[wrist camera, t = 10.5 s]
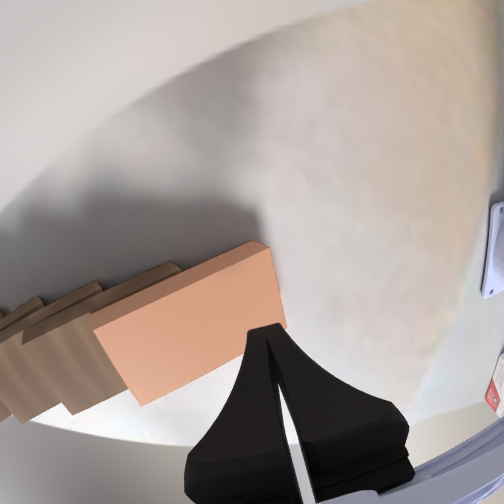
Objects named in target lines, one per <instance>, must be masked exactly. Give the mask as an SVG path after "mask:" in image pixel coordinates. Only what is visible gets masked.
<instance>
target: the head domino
mask: <svg viewBox="0 0 504 504" xmlns="http://www.w3.org/2000/svg"><path fill="white" fill-rule="evenodd" d="M91 321H92V327H93V331H94V333H95V335H96V336H97V338H98V340H99V342H100V343H101V345H102V347H103V348H104V350H105V352H106V353H107V355H108V357H109V358H110V360H111V362H112V363H113V365H114V366H115V368H116V370H117V371H118V373H119V374H120V376H121V377H122V379H123V381H124V382H125V384H126V385H127V387H128V388H129V390H130V391H131V392H132V394H133V395H134V397H135V398H136V400H137V401H138V403H139V404H140V405H141V406H143V405H145V404H147V403H149V402H151V401H154V400H156V399H158V398H160V397H162V396H164V395H166V394H168V393H170V392H172V391H174V390H176V389H178V388H180V387H182V386H184V385H186V384H188V383H190V382H192V381H193V380H195V379H197V378H199V377H201V376H203V375H205V374H207V373H209V372H211V371H212V370H214V369H216V368H218V367H220V366H222V365H224V364H225V363H227V362H229V361H231V360H233V359H234V358H236V357H238V356H240V355H242V354H243V353H244V351H245V346H246V339H247V332H248V330H250V329H255V328H259V327H263V326H267V325H270V324H274V323H280V324H281V325H282V326H283V328H284V329H286V328H287V325H286V320H285V315H284V311H283V306H282V301H281V297H280V292H279V288H278V283H277V278H276V274H275V269H274V265H273V260H272V256H271V251H270V247H267V246H265V245H263V244H260V243H258V242H256V241H253V240H252V241H250V242H248V243H245V244H243V245H241V246H239V247H236V248H234V249H232V250H230V251H228V252H225V253H223V254H221V255H219V256H216V257H214V258H212V259H210V260H208V261H205V262H203V263H201V264H199V265H197V266H194V267H192V268H190V269H188V270H186V271H183V272H181V273H179V274H177V275H175V276H172V277H170V278H168V279H166V280H164V281H162V282H159V283H157V284H155V285H153V286H151V287H148V288H146V289H144V290H142V291H140V292H138V293H135V294H133V295H131V296H129V297H127V298H125V299H122V300H120V301H118V302H116V303H114V304H112V305H109V306H107V307H105V308H103V309H101V310H99V311H96V312H94V313H92V314H91Z"/></svg>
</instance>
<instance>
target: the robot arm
mask: <svg viewBox="0 0 504 504" xmlns="http://www.w3.org/2000/svg"><path fill="white" fill-rule="evenodd" d="M502 290H504V201H502V202H499V203H495V204H493V206H492V208H491V215H490V230H489V241H488V251H487V260H486V267H485V274H484V281H483V287H482V293H481V296H482V297H483V298H484V299H487V298H489V297H491V296H493V295H495V294H497V293H499V292H501V291H502ZM278 384H279V387H280V389H281V392H282V394H283V397H284V400H285V402H286V405H287V407H288V410H289V413H290V415H291V418H292V420H293V423H294V426H295V429H296V432H297V436H298V440H299V443H300V447H301V451H302V454H303V458H304V461H305V465H306V469H307V473H308V477H309V480H310V484H311V488H312V491H313V495H314V499H315V503H316V504H479V503H480V502H481V501H483V500H484V499H486V498H487V497H488V496H490V495H491V494H493V493H494V492H495V491H497V490H498V489H499V488H501V487H502V486H503V485H504V416H503V417H501V418H500V419H499V420H497V421H495V422H494V423H492V424H491V425H490V426H488V427H487V428H485V429H483V430H482V431H480V432H479V433H477V434H476V435H474V436H473V437H471V438H469V439H468V440H466V441H464V442H462V443H461V444H459V445H457V446H456V447H454V448H452V449H450V450H448V451H447V452H445V453H443V454H441V455H439V456H437V457H435V458H433V459H431V460H430V461H427V462H426V463H423V464H421V465H419V466H417V467H415V468H413V467H412V465H411V463H410V461H409V459H408V456H409V454H408V451H407V449H406V447H405V443H406V440H407V436H408V433H409V425H408V423H407V421H406V419H405V418H404V416H403V415H402V414H401V412H400V411H399V410H398V409H397V408H396V407H395V405H394V404H393V403H392V402H390V401H386V400H383V399H380V398H377V397H374V396H372V395H369V394H367V393H365V392H362V391H360V390H358V389H356V388H354V387H352V386H350V385H349V384H347V383H345V382H343V381H341V380H340V379H338V378H336V377H335V376H333V375H332V374H330V373H329V372H327V371H326V370H325V369H323V368H322V367H321V366H319V365H318V364H317V363H316V362H315V361H313V360H312V359H311V358H310V357H309V356H308V355H307V354H306V353H305V352H304V351H303V350H302V349H301V348H300V347H299V346H298V345H297V344H296V343H295V342H294V341H293V340H292V339H291V337H290V336H289V335H288V334H287V332H286V331H285V330H284V328H283V326H282V325H281V324H280V323H274V324H270V325H267V326H263V327H259V328H255V329H250V330H248V332H247V339H246V346H245V351H244V356H243V360H242V363H241V367H240V370H239V373H238V376H237V379H236V381H235V384H234V386H233V389H232V391H231V393H230V395H229V397H228V399H227V401H226V403H225V405H224V407H223V409H222V410H221V412H220V414H219V415H218V417H217V419H216V420H215V422H214V423H213V424H212V426H211V427H210V429H209V430H208V431H207V433H206V434H205V435H204V437H203V438H202V439H201V440H200V441H199V442H198V443H197V445H196V446H195V447H194V448H193V449H192V450H191V451H190V452H189V453H188V456H187V461H186V466H185V472H184V492H185V494H186V495H187V496H188V497H189V498H190V499H191V500H192V501H193V502H194V503H196V504H303V500H302V496H301V492H300V488H299V485H298V481H297V477H296V473H295V469H294V466H293V461H292V458H291V453H290V449H289V446H288V442H287V438H286V434H285V428H284V422H283V415H282V408H281V401H280V394H279V387H278Z"/></svg>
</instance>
